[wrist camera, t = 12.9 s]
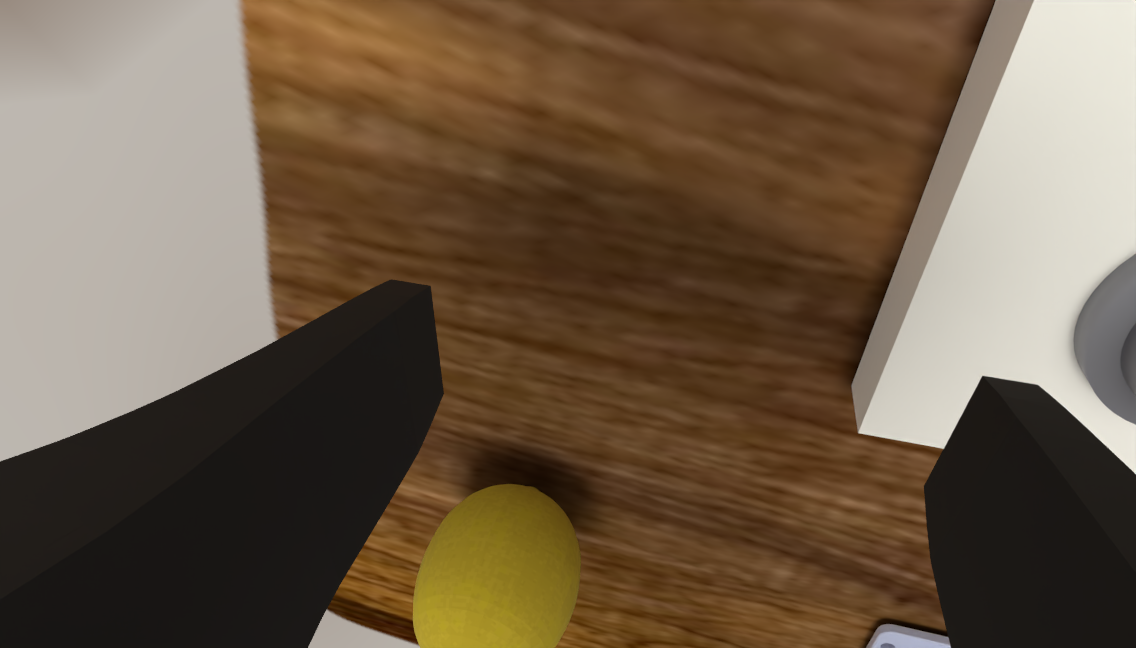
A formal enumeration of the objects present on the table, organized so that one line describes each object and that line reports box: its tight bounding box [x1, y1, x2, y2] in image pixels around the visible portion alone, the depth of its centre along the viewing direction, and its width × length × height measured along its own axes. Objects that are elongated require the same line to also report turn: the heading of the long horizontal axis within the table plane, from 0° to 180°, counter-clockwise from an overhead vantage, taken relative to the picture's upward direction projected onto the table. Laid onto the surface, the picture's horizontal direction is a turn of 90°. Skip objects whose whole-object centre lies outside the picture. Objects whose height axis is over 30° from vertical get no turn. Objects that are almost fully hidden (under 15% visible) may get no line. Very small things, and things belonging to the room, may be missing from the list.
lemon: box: [413, 484, 581, 648], centre depth 23 cm, size 6×6×8 cm
